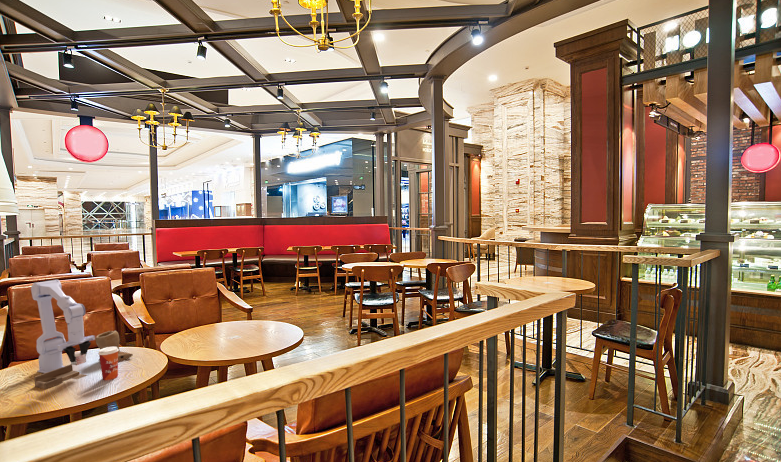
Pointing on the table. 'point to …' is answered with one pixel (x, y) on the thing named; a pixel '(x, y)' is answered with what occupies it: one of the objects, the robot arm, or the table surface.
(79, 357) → the steel cube
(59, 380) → the walnut cabinet
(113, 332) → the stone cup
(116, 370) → the paper cup
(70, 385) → the table surface
